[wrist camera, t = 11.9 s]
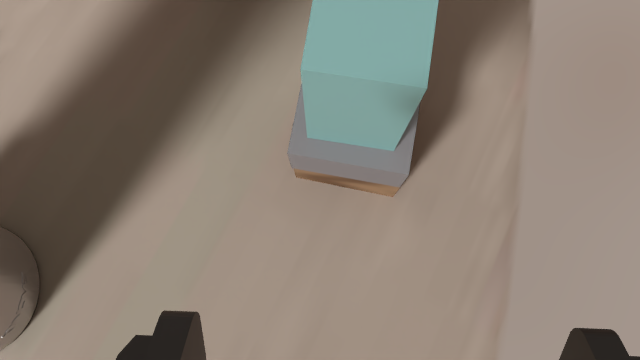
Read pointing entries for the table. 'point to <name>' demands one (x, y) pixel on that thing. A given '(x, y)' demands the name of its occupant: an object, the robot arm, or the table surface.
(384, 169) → the tower top
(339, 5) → the pillar
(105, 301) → the table surface
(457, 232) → the table surface
